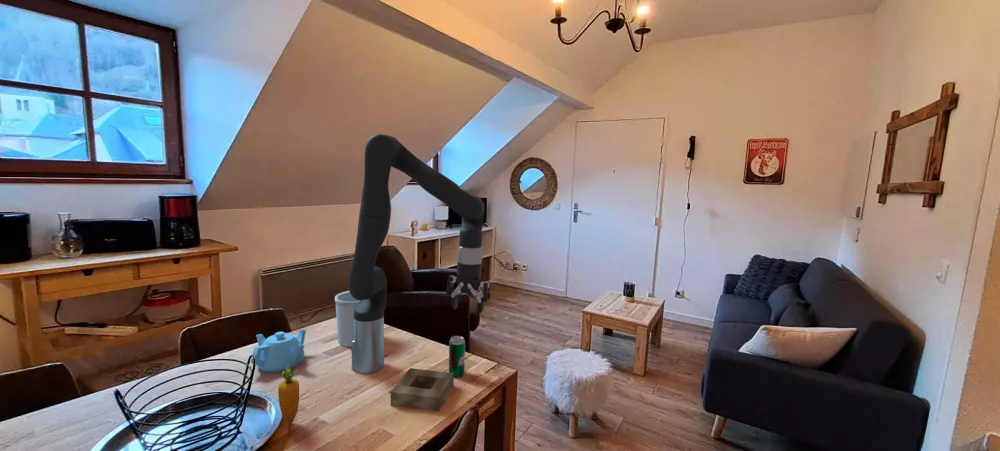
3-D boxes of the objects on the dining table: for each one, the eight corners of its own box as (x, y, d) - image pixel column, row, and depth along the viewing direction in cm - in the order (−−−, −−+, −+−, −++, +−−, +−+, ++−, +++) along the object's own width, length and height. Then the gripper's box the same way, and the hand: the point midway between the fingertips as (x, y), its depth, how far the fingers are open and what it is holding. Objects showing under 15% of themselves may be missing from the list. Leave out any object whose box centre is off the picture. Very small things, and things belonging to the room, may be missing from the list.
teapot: (257, 357, 137) (256, 327, 136) (306, 350, 143) (305, 321, 142) (250, 378, 123) (248, 345, 122) (304, 370, 129) (303, 338, 128)
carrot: (284, 418, 104) (282, 363, 102) (304, 418, 105) (302, 363, 103) (275, 430, 99) (272, 373, 97) (296, 430, 100) (294, 372, 98)
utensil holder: (345, 351, 143) (344, 304, 141) (329, 338, 154) (328, 294, 152) (383, 341, 153) (383, 296, 151) (366, 329, 164) (366, 287, 162)
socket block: (390, 405, 111) (390, 391, 111) (409, 380, 125) (409, 368, 124) (439, 411, 109) (439, 398, 109) (453, 385, 123) (453, 373, 122)
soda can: (461, 378, 127) (462, 342, 125) (446, 376, 128) (447, 340, 126) (466, 371, 132) (467, 336, 130) (451, 369, 133) (452, 334, 131)
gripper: (443, 259, 124) (441, 310, 126) (485, 266, 118) (482, 319, 121) (455, 255, 131) (453, 303, 133) (495, 261, 125) (492, 311, 127)
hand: (467, 310), depth 127 cm, fingers open, 8 cm apart
